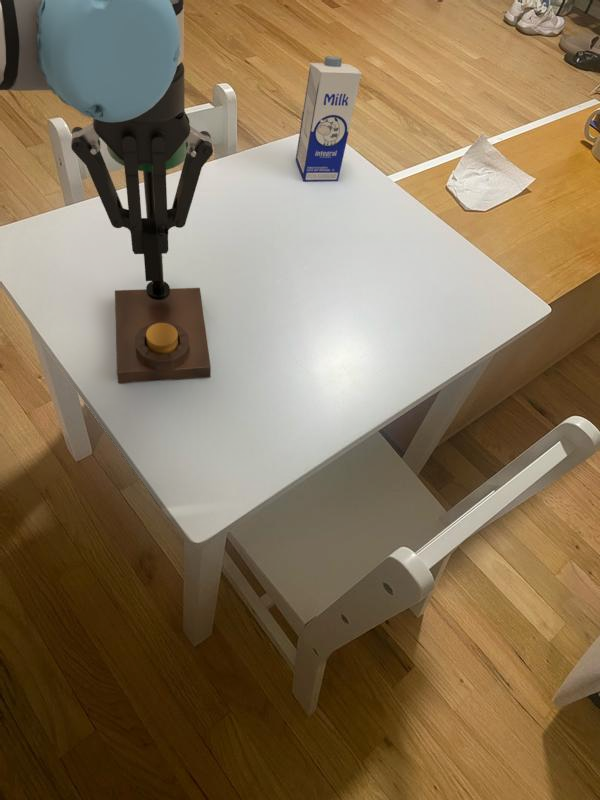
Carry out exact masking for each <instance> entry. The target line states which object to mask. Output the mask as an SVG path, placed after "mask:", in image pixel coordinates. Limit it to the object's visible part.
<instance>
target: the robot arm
mask: <svg viewBox="0 0 600 800" xmlns="http://www.w3.org/2000/svg"><path fill="white" fill-rule="evenodd" d="M184 58H185V3H184V0H0V91H13V92H14V91H15V92H16V91H17V92H28V91H51V92H52V94H54V95H55V96H57V97H58V99H59V100H60V101H61V102H62V103H64V104H65V105H66V106H69V107H71V108H73V109H75V110H76V111H78V113H80V114H82V115H84V116H85V117H88V118H90V119H92V121H93V122H91V123H90V124H89V125H87V126H85V127H81V126H74V127H73V128H72V130H71V141H70V142H71V143H70V147H71V150H72V152H73V153H74V154H75V155H76V156H77V158H79V159H80V160H81V162H82V163H83V164H84V165H85V166H86V169H87V171H88V173H89V176H90V178H91V180H92V182H93V184H94V187H95V189H96V192H97V194H98V196H99V198H100V201H101V203H102V206H103V208H104V210H105V212H106V214H107V217H108V219H109V222H110V224H111V226H112V227H113V228H115V229H121V228H125V229H128V231H129V232H130V238H131V239H130V240H131V248H132V249H131V250H132V252H133V254H134V255H143V262H144V275H145V282H152V281H159V265H158V254H162V255H165V254H168V252H169V231H170V229H172V228H177V229H181V228H184V227H185V226H186V223H187V219H188V217H189V213H190V209H191V206H192V203H193V199H194V195H195V193H196V189H197V186H198V182H199V179H200V176H201V173H202V168H203V167H204V166H205V164H206V163H207V161H208V160H209V159H210V158H211V157H212V155H213V153H214V148H213V143H212V137H211V134H210V133H209V131H207V130H202V131H199V130H197V129H196V128H194V127H193V126H191V124H190V118H189V116H188V114H187V113H186V111H185V66H184V63H183V61H184ZM100 139H101V140H102V142H104V144H106V146H107V145H108V147H109V148H110V149H111V150H112V151H113V152H114V153H115V154H116V155H117V156H118V157H119V158H120V159H121V160H123V161H124V166H123V167H124V176H125V177H124V178H125V187H126V196H127V208H124V206H123V204H122V202H121V199H120V197H119V194H118V192H117V190H116V187H115V184H114V181H113V180H112V177H111V174H110V172H109V169H108V167H107V164H106V162H105V160H104V157H103V155H102V152H101V140H100ZM185 140H186V151H187V154H186V157H185V161H184V162H183V165H182V169H181V173H180V176H179V179H178V184H177V188H176V191H175V195H174V198H173V203H172V207H171V208H168V194H167V192H168V191H167V170H166V162H167V161H168V160H169V159H170V158H171V157H172V156H173V155H174V154H175V152H176V151H177V150H178V149H179V147H180V146H181V145H182V144H183V142H184V141H185ZM140 164H149V165H152V172H153V190H154V208H155V218H147V217H142V207H141V205H142V204H141V190H140V179H139V170H138V165H140Z"/></svg>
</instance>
